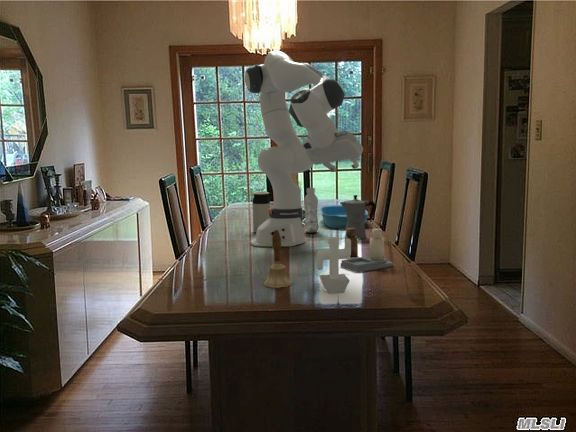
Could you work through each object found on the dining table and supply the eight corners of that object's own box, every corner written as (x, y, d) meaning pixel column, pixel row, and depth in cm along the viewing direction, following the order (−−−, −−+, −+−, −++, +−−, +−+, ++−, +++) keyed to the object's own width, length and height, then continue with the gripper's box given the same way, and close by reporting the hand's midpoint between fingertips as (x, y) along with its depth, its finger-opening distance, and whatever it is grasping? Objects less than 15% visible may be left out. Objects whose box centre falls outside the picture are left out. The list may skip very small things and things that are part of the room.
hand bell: (295, 286, 147) (294, 231, 145) (267, 289, 145) (265, 233, 142) (287, 279, 155) (286, 227, 153) (260, 282, 153) (258, 229, 150)
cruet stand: (357, 272, 161) (357, 235, 159) (340, 266, 169) (340, 231, 167) (393, 266, 168) (393, 230, 166) (375, 260, 176) (375, 226, 174)
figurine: (315, 287, 145) (314, 235, 143) (348, 286, 146) (347, 234, 144) (319, 295, 138) (318, 240, 136) (354, 293, 139) (353, 238, 137)
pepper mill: (346, 258, 181) (345, 229, 180) (343, 255, 185) (343, 227, 184) (359, 257, 181) (358, 229, 180) (356, 254, 186) (356, 227, 184)
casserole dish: (371, 229, 238) (371, 214, 237) (323, 230, 238) (323, 215, 237) (361, 217, 274) (361, 204, 273) (319, 218, 275) (318, 205, 274)
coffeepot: (337, 238, 217) (337, 195, 215) (343, 234, 226) (343, 193, 223) (373, 240, 211) (373, 196, 209) (378, 236, 220) (378, 194, 218)
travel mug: (268, 232, 234) (267, 193, 231) (251, 232, 235) (250, 193, 233) (272, 229, 242) (271, 191, 239) (255, 229, 243) (254, 191, 240)
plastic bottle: (320, 231, 234) (319, 187, 231) (316, 234, 228) (315, 189, 225) (306, 231, 236) (306, 187, 233) (302, 233, 230) (301, 189, 227)
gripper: (354, 124, 160) (374, 159, 166) (306, 135, 174) (326, 167, 181) (345, 136, 156) (366, 171, 163) (297, 146, 171) (318, 178, 177)
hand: (345, 169), depth 172 cm, fingers open, 8 cm apart
